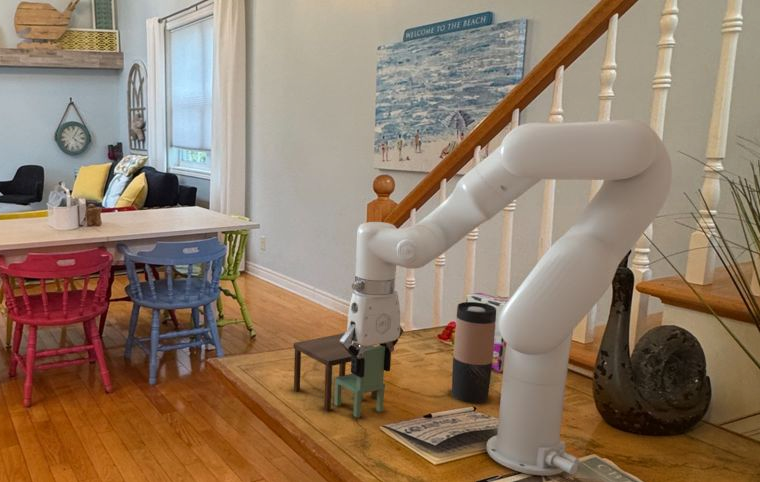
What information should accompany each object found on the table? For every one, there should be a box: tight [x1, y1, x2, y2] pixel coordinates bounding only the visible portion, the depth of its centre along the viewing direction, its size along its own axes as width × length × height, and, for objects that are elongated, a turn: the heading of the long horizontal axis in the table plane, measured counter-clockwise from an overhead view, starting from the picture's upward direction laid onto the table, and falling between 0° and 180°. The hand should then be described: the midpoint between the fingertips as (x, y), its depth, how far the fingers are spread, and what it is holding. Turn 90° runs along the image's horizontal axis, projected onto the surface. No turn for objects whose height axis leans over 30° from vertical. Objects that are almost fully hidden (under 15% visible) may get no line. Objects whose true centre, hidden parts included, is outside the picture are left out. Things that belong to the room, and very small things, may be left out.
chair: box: [333, 344, 386, 419], centre depth 131 cm, size 7×7×14 cm
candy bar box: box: [465, 292, 509, 373], centre depth 153 cm, size 11×5×16 cm, turn 25°
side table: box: [293, 332, 377, 412], centre depth 138 cm, size 12×14×11 cm
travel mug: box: [451, 301, 496, 404], centre depth 135 cm, size 8×8×20 cm
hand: (370, 371), depth 128 cm, fingers closed on chair, 6 cm apart
